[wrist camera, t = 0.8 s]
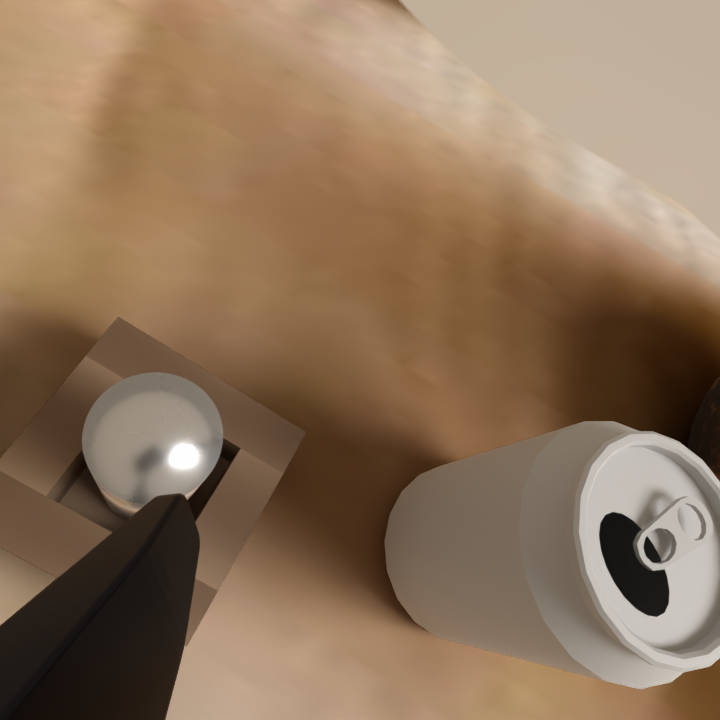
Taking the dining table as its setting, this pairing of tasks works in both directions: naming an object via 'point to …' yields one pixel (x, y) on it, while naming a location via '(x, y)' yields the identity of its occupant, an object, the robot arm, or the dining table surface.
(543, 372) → the dining table surface
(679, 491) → the can
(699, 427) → the brown vase
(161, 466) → the pin
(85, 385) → the socket block
